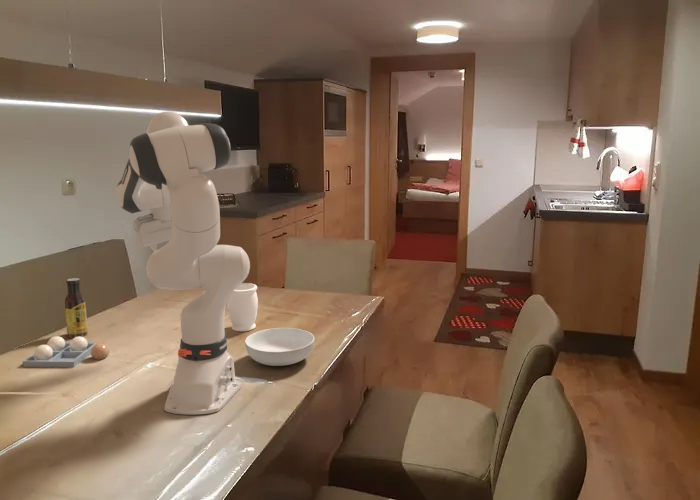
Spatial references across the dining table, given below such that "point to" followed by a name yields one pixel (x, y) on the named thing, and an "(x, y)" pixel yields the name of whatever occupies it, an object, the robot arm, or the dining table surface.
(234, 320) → the jar
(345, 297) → the dining table surface
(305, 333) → the serving bowl
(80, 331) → the sauce bottle
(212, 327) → the robot arm
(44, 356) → the white egg
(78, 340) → the white egg
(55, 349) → the white egg
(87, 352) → the egg tray
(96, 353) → the brown egg
